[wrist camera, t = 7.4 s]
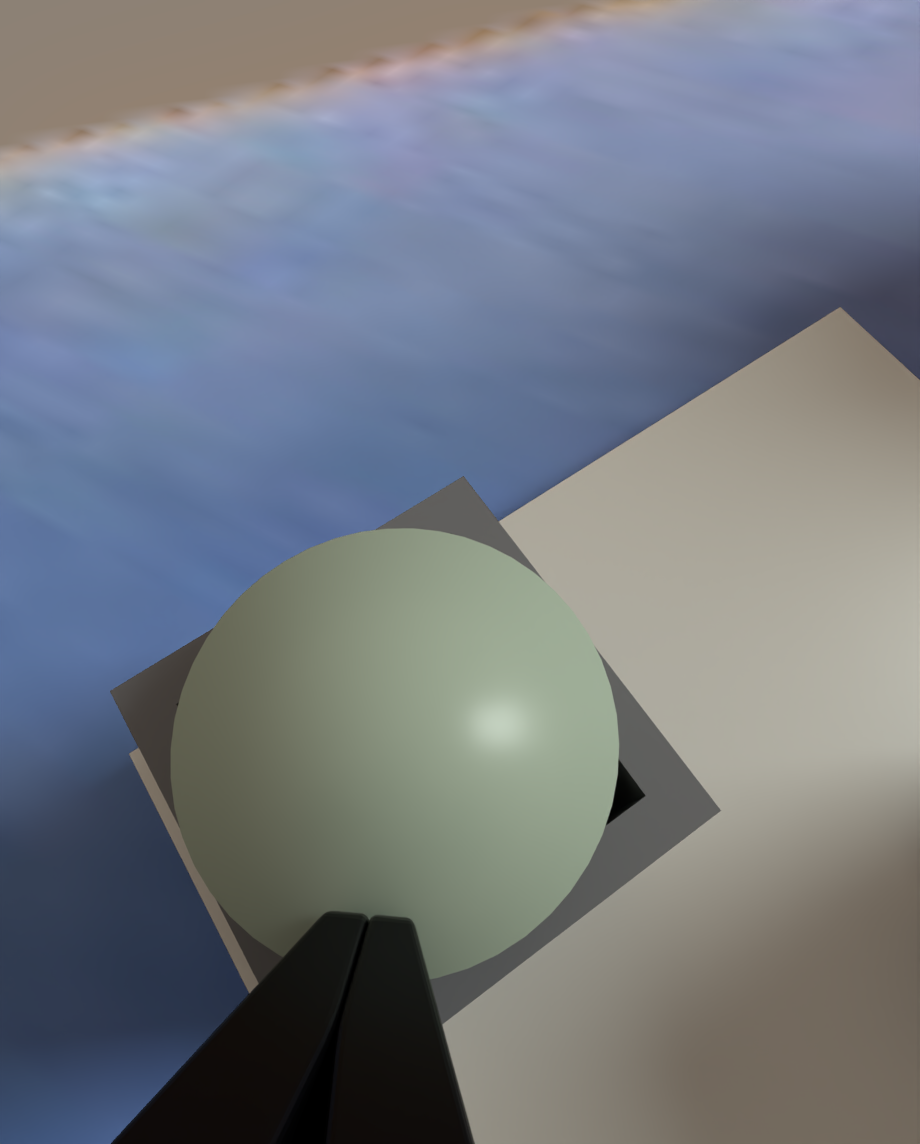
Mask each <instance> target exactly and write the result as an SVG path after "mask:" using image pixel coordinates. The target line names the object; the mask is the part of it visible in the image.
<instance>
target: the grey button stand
mask: <svg viewBox="0 0 920 1144" xmlns="http://www.w3.org/2000/svg"><path fill="white" fill-rule="evenodd" d="M398 528H415V529H424V530H433V531H441V532H445V533H449V534H454V535H458V536H462V537H466V538H469V539H471V540H474V541H477V542H479V543H482V544H485V545H488V546H490V547H492V548H494V549H496V550H498V551H500V552H502V553H504V554H506V555H508V556H510V557H512V558H513V559H515V560H516V561H518V562H519V563H521V564H522V565H524V566H525V567H527V568H528V569H530V570H531V571H532V572H534V573H535V574H536V575H538V576H539V577H540V578H541V579H542V580H543V581H544V582H546V583H547V584H548V585H549V586H550V587H551V588H552V589H553V590H555V591H556V593H557V594H558V595H559V596H560V597H561V598H562V599H563V600H564V602H565V603H566V604H567V605H568V606H569V607H570V608H571V610H572V611H573V612H574V613H575V615H576V616H577V618H578V619H579V621H580V622H581V624H582V625H583V627H584V628H585V630H586V631H587V633H588V634H589V636H590V638H591V640H592V642H593V644H594V646H595V648H596V650H597V652H598V654H599V656H600V658H601V660H602V663H603V666H604V669H605V671H606V674H607V677H608V680H609V683H610V686H611V690H612V695H613V699H614V704H615V709H616V713H617V723H618V736H619V758H618V776H617V781H616V787H615V792H614V798H613V803H612V807H611V810H610V813H609V816H608V819H607V823H606V826H605V829H604V832H603V835H602V837H601V839H600V841H599V843H598V845H597V847H596V850H595V852H594V854H593V856H592V858H591V860H590V862H589V864H588V866H587V867H586V869H585V870H584V872H583V873H582V875H581V876H580V878H579V879H578V881H577V882H576V884H575V885H574V887H573V888H572V890H571V891H570V892H569V894H568V895H567V896H566V897H565V898H564V899H563V901H562V902H561V903H560V904H559V905H558V906H557V907H556V909H555V910H554V911H553V912H552V913H551V914H550V915H549V916H548V917H547V918H546V919H545V920H544V921H543V922H541V923H540V924H539V925H538V926H537V927H536V928H535V929H533V930H532V931H531V932H530V933H529V934H528V935H527V936H525V937H524V938H522V939H521V940H519V941H518V942H516V943H515V944H513V945H512V946H510V947H509V948H507V949H506V950H504V951H503V952H501V953H499V954H498V955H496V956H494V957H492V958H489V959H487V960H485V961H483V962H481V963H479V964H477V965H475V966H472V967H470V968H468V969H465V970H462V971H458V972H455V973H452V974H449V975H445V976H442V977H439V978H435V979H430V981H431V985H432V989H433V992H434V996H435V1000H436V1003H437V1007H438V1011H439V1014H440V1018H441V1022H442V1025H443V1029H444V1033H445V1036H446V1040H447V1044H448V1047H449V1051H450V1054H451V1058H452V1062H453V1065H454V1069H455V1073H456V1076H457V1080H458V1084H459V1087H460V1091H461V1095H462V1098H463V1102H464V1106H465V1109H466V1113H467V1117H468V1120H469V1124H470V1128H471V1131H472V1135H473V1139H474V1142H475V1144H920V380H919V379H918V378H917V377H916V376H915V375H914V374H912V373H911V372H910V371H909V370H908V369H907V368H906V367H905V366H904V365H903V364H902V363H901V362H899V361H898V360H897V359H896V358H895V357H894V356H893V355H892V354H891V353H890V352H889V351H887V350H886V349H885V348H884V347H883V346H882V345H881V344H880V343H879V342H878V341H877V340H876V339H874V338H873V337H872V336H871V335H870V334H869V333H868V332H867V331H866V330H865V329H864V328H862V327H861V326H860V325H859V324H858V323H857V322H856V321H855V320H854V319H853V318H852V317H851V316H849V315H848V314H847V313H846V312H845V311H844V310H843V309H842V308H841V307H839V308H838V309H836V310H835V311H833V312H831V313H830V314H828V315H827V316H825V317H823V318H822V319H820V320H819V321H817V322H816V323H814V324H812V325H811V326H809V327H808V328H806V329H804V330H803V331H801V332H800V333H798V334H796V335H795V336H793V337H792V338H790V339H788V340H787V341H785V342H784V343H782V344H781V345H779V346H777V347H776V348H774V349H773V350H771V351H769V352H768V353H766V354H765V355H763V356H761V357H760V358H758V359H757V360H755V361H753V362H752V363H750V364H749V365H747V366H745V367H744V368H742V369H741V370H739V371H738V372H736V373H734V374H733V375H731V376H730V377H728V378H726V379H725V380H723V381H722V382H720V383H718V384H717V385H715V386H714V387H712V388H710V389H709V390H707V391H706V392H704V393H703V394H701V395H699V396H698V397H696V398H695V399H693V400H691V401H690V402H688V403H687V404H685V405H683V406H682V407H680V408H679V409H677V410H675V411H674V412H672V413H671V414H669V415H667V416H666V417H664V418H663V419H661V420H660V421H658V422H656V423H655V424H653V425H652V426H650V427H648V428H647V429H645V430H644V431H642V432H640V433H639V434H637V435H636V436H634V437H632V438H631V439H629V440H628V441H626V442H625V443H623V444H621V445H620V446H618V447H617V448H615V449H613V450H612V451H610V452H609V453H607V454H605V455H604V456H602V457H601V458H599V459H597V460H596V461H594V462H593V463H591V464H589V465H588V466H586V467H585V468H583V469H582V470H580V471H578V472H577V473H575V474H574V475H572V476H570V477H569V478H567V479H566V480H564V481H562V482H561V483H559V484H558V485H556V486H554V487H553V488H551V489H550V490H548V491H546V492H545V493H543V494H542V495H540V496H539V497H537V498H535V499H534V500H532V501H531V502H529V503H527V504H526V505H524V506H523V507H521V508H519V509H518V510H516V511H515V512H513V513H511V514H510V515H508V516H507V517H505V518H504V519H502V520H500V521H499V522H498V520H497V519H496V518H495V516H494V515H493V514H492V512H491V511H490V510H489V509H488V507H487V506H486V505H485V503H484V502H483V501H482V499H481V498H480V497H479V496H478V494H477V493H476V492H475V490H474V489H473V488H472V486H471V485H470V484H469V483H468V481H467V480H466V479H465V477H464V476H463V477H461V478H460V479H458V480H456V481H455V482H453V483H451V484H450V485H448V486H447V487H445V488H443V489H442V490H440V491H438V492H437V493H435V494H433V495H432V496H430V497H428V498H427V499H425V500H423V501H422V502H420V503H419V504H417V505H415V506H414V507H412V508H410V509H409V510H407V511H405V512H404V513H402V514H400V515H399V516H397V517H396V518H394V519H392V520H391V521H389V522H387V523H386V524H384V525H382V526H381V527H379V528H377V529H376V530H380V529H398ZM213 629H214V628H213ZM213 629H211V630H210V631H208V632H206V633H205V634H203V635H201V636H200V637H198V638H197V639H195V640H193V641H192V642H190V643H188V644H187V645H185V646H183V647H182V648H180V649H178V650H177V651H175V652H173V653H172V654H170V655H169V656H167V657H165V658H164V659H162V660H160V661H159V662H157V663H155V664H154V665H152V666H150V667H149V668H147V669H146V670H144V671H142V672H141V673H139V674H137V675H136V676H134V677H132V678H131V679H129V680H127V681H126V682H124V683H122V684H121V685H119V686H118V687H116V688H114V689H113V690H111V691H110V692H111V694H112V696H113V698H114V700H115V702H116V704H117V706H118V708H119V710H120V712H121V714H122V716H123V718H124V720H125V722H126V724H127V726H128V728H129V730H130V732H131V734H132V736H133V738H134V740H135V741H136V743H137V745H138V747H139V748H137V749H136V750H134V751H133V752H131V753H129V755H130V757H131V759H132V761H133V763H134V765H135V767H136V769H137V771H138V773H139V775H140V777H141V779H142V781H143V783H144V785H145V787H146V789H147V791H148V793H149V795H150V797H151V799H152V801H153V803H154V805H155V807H156V809H157V811H158V813H159V815H160V817H161V819H162V821H163V823H164V825H165V827H166V829H167V831H168V833H169V835H170V837H171V839H172V841H173V843H174V845H175V847H176V849H177V851H178V853H179V855H180V856H181V858H182V860H183V862H184V864H185V866H186V868H187V870H188V872H189V874H190V876H191V878H192V880H193V882H194V884H195V886H196V888H197V890H198V892H199V894H200V896H201V898H202V900H203V902H204V904H205V906H206V908H207V910H208V912H209V914H210V916H211V918H212V920H213V922H214V924H215V926H216V928H217V930H218V932H219V934H220V936H221V938H222V940H223V942H224V944H225V946H226V948H227V950H228V952H229V954H230V956H231V958H232V960H233V962H234V964H235V966H236V968H237V970H238V972H239V974H240V976H241V978H242V980H243V982H244V984H245V986H246V988H247V990H248V992H249V993H250V992H251V991H252V990H253V989H254V988H255V987H256V986H257V985H258V984H259V983H260V981H261V980H262V979H263V978H264V977H265V976H266V975H267V974H268V973H269V972H270V971H271V970H272V968H273V967H274V966H275V965H276V964H277V963H278V962H279V961H280V960H281V959H282V958H283V957H282V956H280V955H278V954H277V953H275V952H274V951H272V950H271V949H269V948H268V947H266V946H265V945H263V944H262V943H260V942H259V941H257V940H256V939H254V938H253V937H252V936H251V935H250V934H249V933H247V932H246V931H245V930H244V929H243V928H242V927H241V926H240V925H239V924H238V923H237V922H235V921H234V920H233V919H232V918H231V917H230V916H229V915H228V913H227V912H226V911H225V910H224V909H223V907H222V906H221V905H220V904H219V902H218V901H217V900H216V899H215V897H214V896H213V895H212V894H211V893H210V891H209V889H208V888H207V886H206V884H205V883H204V881H203V879H202V878H201V876H200V874H199V873H198V871H197V869H196V868H195V866H194V864H193V861H192V859H191V857H190V854H189V852H188V850H187V847H186V845H185V843H184V840H183V838H182V834H181V831H180V827H179V823H178V819H177V816H176V812H175V808H174V801H173V793H172V785H171V742H172V734H173V727H174V719H175V715H176V711H177V708H178V704H179V700H180V696H181V692H182V689H183V687H184V684H185V682H186V679H187V677H188V674H189V672H190V669H191V667H192V664H193V662H194V660H195V658H196V657H197V655H198V653H199V651H200V649H201V647H202V646H203V644H204V642H205V640H206V638H207V637H208V636H209V634H210V633H211V631H212V630H213Z"/></svg>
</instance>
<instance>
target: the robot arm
mask: <svg viewBox="0 0 920 1144" xmlns="http://www.w3.org/2000/svg"><path fill="white" fill-rule="evenodd" d="M111 1144H475V1142H474V1139H473V1135H472V1131H471V1128H470V1124H469V1120H468V1117H467V1113H466V1109H465V1106H464V1102H463V1098H462V1095H461V1091H460V1087H459V1084H458V1080H457V1076H456V1073H455V1069H454V1065H453V1062H452V1058H451V1054H450V1051H449V1047H448V1044H447V1040H446V1036H445V1033H444V1029H443V1025H442V1022H441V1018H440V1014H439V1011H438V1007H437V1003H436V1000H435V996H434V992H433V989H432V985H431V981H430V978H429V974H428V970H427V967H426V963H425V959H424V956H423V952H422V948H421V945H420V941H419V937H418V934H417V930H416V927H415V924H414V922H413V921H412V920H411V919H410V918H407V917H397V916H386V915H374V916H372V917H371V919H370V920H369V919H368V917H367V916H366V915H365V914H362V913H353V912H342V911H328V912H326V913H324V914H323V915H322V916H321V917H320V918H319V919H318V920H317V921H316V922H315V923H314V924H313V925H312V926H311V927H310V928H309V930H308V931H307V932H306V933H305V934H304V935H303V936H302V937H301V938H300V939H299V940H298V941H297V943H296V944H295V945H294V946H293V947H292V948H291V949H290V950H289V951H288V952H287V953H286V954H285V956H284V957H283V958H282V959H281V960H280V961H279V962H278V963H277V964H276V965H275V966H274V967H273V968H272V970H271V971H270V972H269V973H268V974H267V975H266V976H265V977H264V978H263V979H262V980H261V981H260V983H259V984H258V985H257V986H256V987H255V988H254V989H253V990H252V991H251V992H250V993H249V994H248V996H247V997H246V998H245V999H244V1000H243V1001H242V1002H241V1003H240V1004H239V1005H238V1006H237V1007H236V1009H235V1010H234V1011H233V1012H232V1013H231V1014H230V1015H229V1016H228V1017H227V1018H226V1019H225V1020H224V1022H223V1023H222V1024H221V1025H220V1026H219V1027H218V1028H217V1029H216V1030H215V1031H214V1032H213V1033H212V1035H211V1036H210V1037H209V1038H208V1039H207V1040H206V1041H205V1042H204V1043H203V1044H202V1045H201V1046H200V1047H199V1049H198V1050H197V1051H196V1052H195V1053H194V1054H193V1055H192V1056H191V1057H190V1058H189V1059H188V1060H187V1062H186V1063H185V1064H184V1065H183V1066H182V1067H181V1068H180V1069H179V1070H178V1071H177V1072H176V1073H175V1075H174V1076H173V1077H172V1078H171V1079H170V1080H169V1081H168V1082H167V1083H166V1084H165V1085H164V1086H163V1088H162V1089H161V1090H160V1091H159V1092H158V1093H157V1094H156V1095H155V1096H154V1097H153V1098H152V1099H151V1101H150V1102H149V1103H148V1104H147V1105H146V1106H145V1107H144V1108H143V1109H142V1110H141V1111H140V1112H139V1114H138V1115H137V1116H136V1117H135V1118H134V1119H133V1120H132V1121H131V1122H130V1123H129V1124H128V1125H127V1127H126V1128H125V1129H124V1130H123V1131H122V1132H121V1133H120V1134H119V1135H118V1136H117V1137H116V1138H115V1139H114V1141H113V1142H112V1143H111Z"/></svg>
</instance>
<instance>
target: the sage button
mask: <svg viewBox="0 0 920 1144" xmlns="http://www.w3.org/2000/svg"><path fill="white" fill-rule="evenodd" d="M618 758H619V736H618V723H617V713H616V709H615V704H614V699H613V695H612V690H611V686H610V683H609V680H608V677H607V674H606V671H605V669H604V666H603V663H602V660H601V658H600V656H599V654H598V652H597V650H596V648H595V646H594V644H593V642H592V640H591V638H590V636H589V634H588V633H587V631H586V630H585V628H584V627H583V625H582V624H581V622H580V621H579V619H578V618H577V616H576V615H575V613H574V612H573V611H572V610H571V608H570V607H569V606H568V605H567V604H566V603H565V602H564V600H563V599H562V598H561V597H560V596H559V595H558V594H557V593H556V591H555V590H553V589H552V588H551V587H550V586H549V585H548V584H547V583H546V582H544V581H543V580H542V579H541V578H540V577H539V576H538V575H536V574H535V573H534V572H532V571H531V570H530V569H528V568H527V567H525V566H524V565H522V564H521V563H519V562H518V561H516V560H515V559H513V558H512V557H510V556H508V555H506V554H504V553H502V552H500V551H498V550H496V549H494V548H492V547H490V546H488V545H485V544H482V543H479V542H477V541H474V540H471V539H469V538H466V537H462V536H458V535H454V534H449V533H445V532H441V531H433V530H424V529H415V528H398V529H380V530H372V531H365V532H359V533H355V534H351V535H347V536H343V537H339V538H335V539H332V540H330V541H327V542H324V543H322V544H319V545H317V546H314V547H311V548H309V549H307V550H305V551H303V552H301V553H299V554H298V555H296V556H294V557H292V558H290V559H288V560H286V561H284V562H283V563H281V564H280V565H279V566H277V567H276V568H274V569H273V570H271V571H270V572H268V573H267V574H265V575H264V576H263V577H261V578H260V579H259V580H258V581H257V582H256V583H254V584H253V585H252V586H251V587H250V588H249V589H248V590H246V591H245V592H244V593H243V594H242V595H241V596H240V597H239V598H238V599H237V600H236V601H235V603H234V604H233V605H232V606H231V607H230V608H229V609H228V610H227V611H226V612H225V614H224V615H223V616H222V617H221V619H220V620H219V621H218V623H217V624H216V626H215V627H214V629H213V630H212V631H211V633H210V634H209V636H208V637H207V638H206V640H205V642H204V644H203V646H202V647H201V649H200V651H199V653H198V655H197V657H196V658H195V660H194V662H193V664H192V667H191V669H190V672H189V674H188V677H187V679H186V682H185V684H184V687H183V689H182V692H181V696H180V700H179V704H178V708H177V711H176V715H175V719H174V727H173V734H172V742H171V785H172V793H173V801H174V808H175V812H176V816H177V819H178V823H179V827H180V831H181V834H182V838H183V840H184V843H185V845H186V847H187V850H188V852H189V854H190V857H191V859H192V861H193V864H194V866H195V868H196V869H197V871H198V873H199V874H200V876H201V878H202V879H203V881H204V883H205V884H206V886H207V888H208V889H209V891H210V893H211V894H212V895H213V896H214V897H215V899H216V900H217V901H218V902H219V904H220V905H221V906H222V907H223V909H224V910H225V911H226V912H227V913H228V915H229V916H230V917H231V918H232V919H233V920H234V921H235V922H237V923H238V924H239V925H240V926H241V927H242V928H243V929H244V930H245V931H246V932H247V933H249V934H250V935H251V936H252V937H253V938H254V939H256V940H257V941H259V942H260V943H262V944H263V945H265V946H266V947H268V948H269V949H271V950H272V951H274V952H275V953H277V954H278V955H280V956H282V957H284V956H285V954H286V953H287V952H288V951H289V950H290V949H291V948H292V947H293V946H294V945H295V944H296V943H297V941H298V940H299V939H300V938H301V937H302V936H303V935H304V934H305V933H306V932H307V931H308V930H309V928H310V927H311V926H312V925H313V924H314V923H315V922H316V921H317V920H318V919H319V918H320V917H321V916H322V915H323V914H324V913H326V912H328V911H342V912H353V913H362V914H365V915H366V916H367V917H368V919H369V920H370V919H371V917H372V916H374V915H386V916H397V917H407V918H410V919H411V920H412V921H413V922H414V924H415V927H416V930H417V934H418V937H419V941H420V945H421V948H422V952H423V956H424V959H425V963H426V967H427V970H428V974H429V978H430V979H435V978H439V977H442V976H445V975H449V974H452V973H455V972H458V971H462V970H465V969H468V968H470V967H472V966H475V965H477V964H479V963H481V962H483V961H485V960H487V959H489V958H492V957H494V956H496V955H498V954H499V953H501V952H503V951H504V950H506V949H507V948H509V947H510V946H512V945H513V944H515V943H516V942H518V941H519V940H521V939H522V938H524V937H525V936H527V935H528V934H529V933H530V932H531V931H532V930H533V929H535V928H536V927H537V926H538V925H539V924H540V923H541V922H543V921H544V920H545V919H546V918H547V917H548V916H549V915H550V914H551V913H552V912H553V911H554V910H555V909H556V907H557V906H558V905H559V904H560V903H561V902H562V901H563V899H564V898H565V897H566V896H567V895H568V894H569V892H570V891H571V890H572V888H573V887H574V885H575V884H576V882H577V881H578V879H579V878H580V876H581V875H582V873H583V872H584V870H585V869H586V867H587V866H588V864H589V862H590V860H591V858H592V856H593V854H594V852H595V850H596V847H597V845H598V843H599V841H600V839H601V837H602V835H603V832H604V829H605V826H606V823H607V819H608V816H609V813H610V810H611V807H612V803H613V798H614V792H615V787H616V781H617V776H618Z"/></svg>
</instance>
